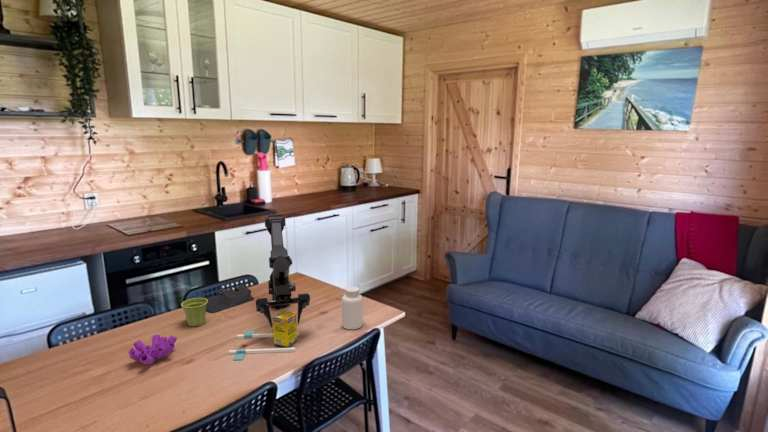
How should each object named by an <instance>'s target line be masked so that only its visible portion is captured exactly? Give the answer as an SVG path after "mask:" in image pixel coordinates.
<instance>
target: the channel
mask: <svg viewBox="0 0 768 432" xmlns="http://www.w3.org/2000/svg"><path fill="white" fill-rule="evenodd" d="M255 332H256V331H255V330H247V331H246V332H245V333H243V334H237V335H236V339H238V340H239V339H255V338H256V339H257V338H258V339H259V338H260V339H261V338H262V339H263V338H274V332H273V333H270V332H269V333H255ZM299 336H300V332H298V331H297V337H299ZM296 350H297V349H296V347H289V348H283V347H277V348H250V349H249V348H248V349H247V348H242V349H241V348H240V349H239V348H238V349H229V350H228V355H234V358H233V359H232V360H233V361H244V359H245V356H246V354H268V353H272V354H273V353H291V352H292V353H293V352H296ZM233 361H232V362H233Z"/></svg>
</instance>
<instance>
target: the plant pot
mask: <svg viewBox="0 0 768 432" xmlns="http://www.w3.org/2000/svg"><path fill="white" fill-rule="evenodd" d="M207 302H208V300H207V298H204V297H193V298H190V299H186V300H184V301H182V302H181V304H180V306H181V308H182V310H183V311H184V313H185V318H186V321H187V325H188V326H189V327H197V326H198V327H199V326H201V325H204V324H205V322H206V311H207V310H206V305H207Z"/></svg>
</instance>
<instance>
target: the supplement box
mask: <svg viewBox="0 0 768 432" xmlns="http://www.w3.org/2000/svg"><path fill="white" fill-rule="evenodd" d="M272 328H273V333H274V337H273V346H274V347H278V348H291V347H292V345H294V344H295V343H297V341H298V336H297V332H298V331H297V330H298V329H297V313H296V312H292V311H287V310H281V311H280V312H279V313H277V314H276V315H274V316H273V317H272Z"/></svg>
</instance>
